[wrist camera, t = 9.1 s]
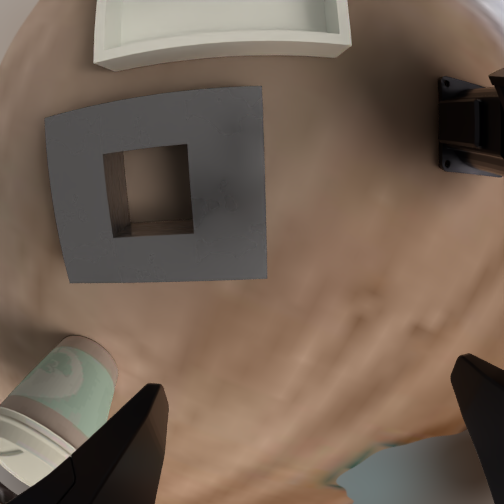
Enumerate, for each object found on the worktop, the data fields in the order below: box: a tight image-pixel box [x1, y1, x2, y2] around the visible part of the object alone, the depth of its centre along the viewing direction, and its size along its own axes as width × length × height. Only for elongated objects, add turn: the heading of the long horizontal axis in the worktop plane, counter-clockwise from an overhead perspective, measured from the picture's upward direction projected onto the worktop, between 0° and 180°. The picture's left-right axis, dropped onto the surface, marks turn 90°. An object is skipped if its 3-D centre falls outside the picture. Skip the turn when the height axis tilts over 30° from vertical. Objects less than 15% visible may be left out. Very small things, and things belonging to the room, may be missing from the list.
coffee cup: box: [0, 336, 118, 487], centre depth 18 cm, size 8×9×12 cm
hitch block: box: [45, 86, 267, 283], centre depth 17 cm, size 12×10×3 cm
